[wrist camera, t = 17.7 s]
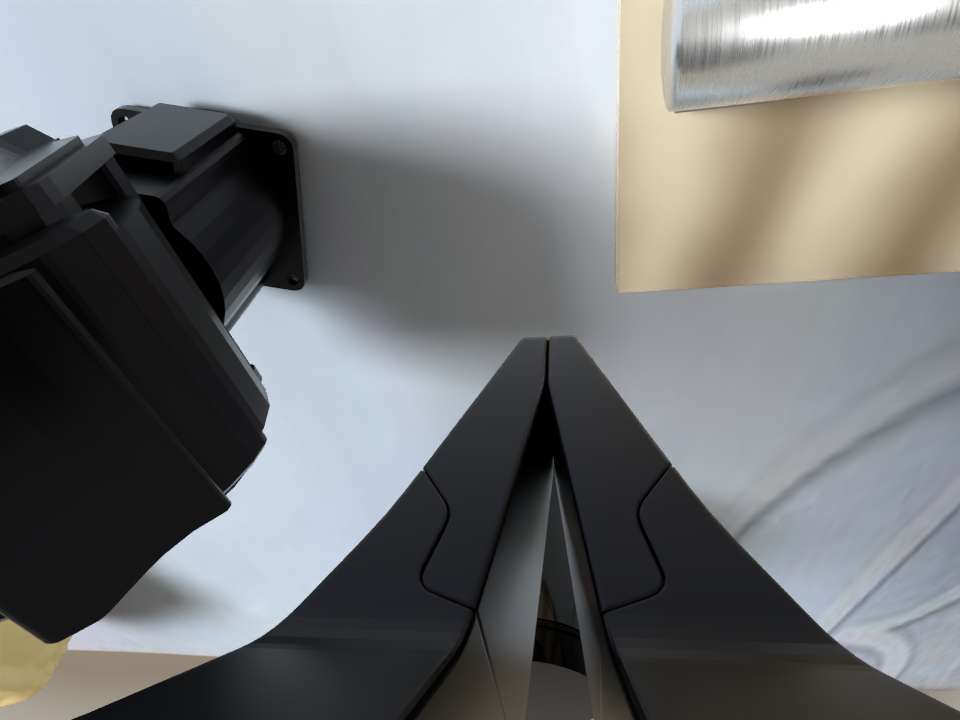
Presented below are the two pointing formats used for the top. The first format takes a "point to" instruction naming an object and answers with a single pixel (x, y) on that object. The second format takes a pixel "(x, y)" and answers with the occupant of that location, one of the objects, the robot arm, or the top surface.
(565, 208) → the top surface
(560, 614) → the supplement container
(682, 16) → the valve pipe
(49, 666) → the sculpture
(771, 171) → the mounting board
